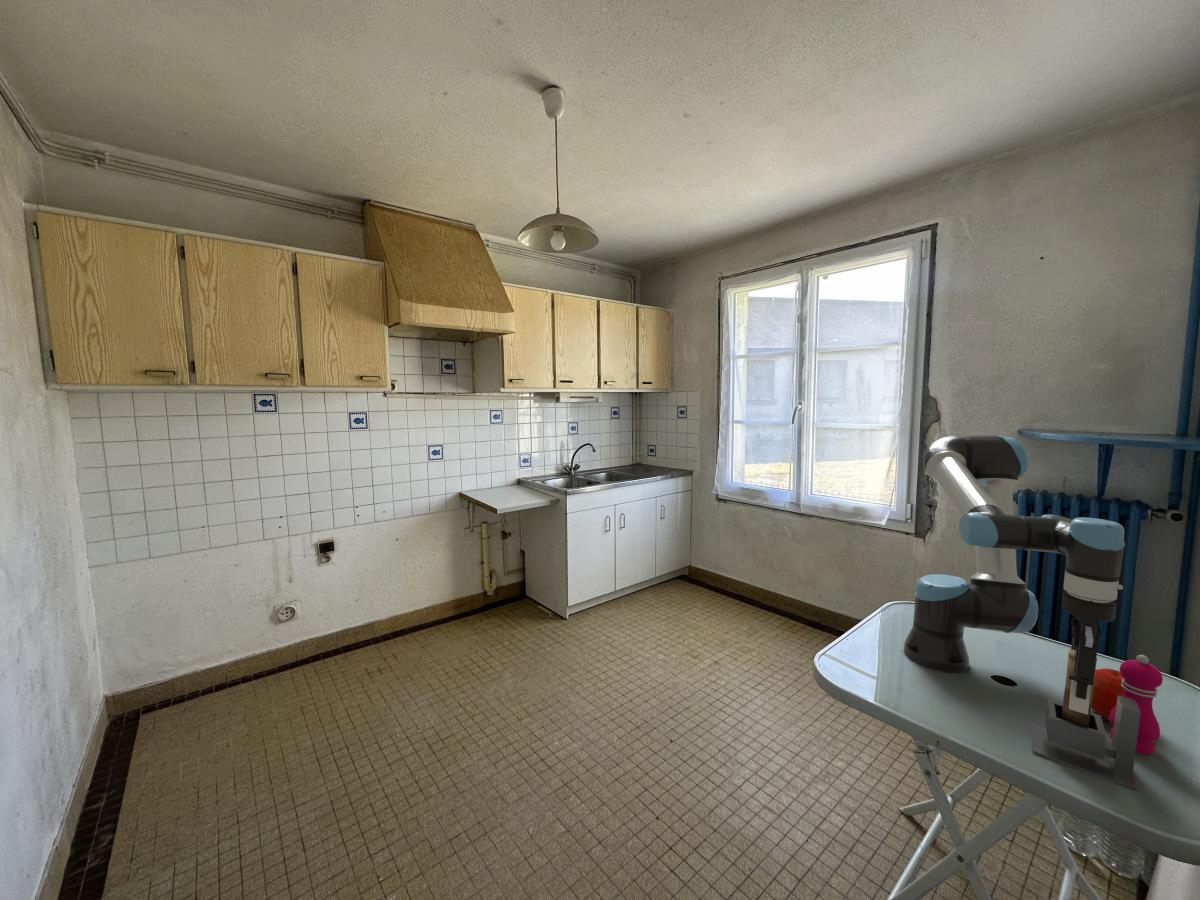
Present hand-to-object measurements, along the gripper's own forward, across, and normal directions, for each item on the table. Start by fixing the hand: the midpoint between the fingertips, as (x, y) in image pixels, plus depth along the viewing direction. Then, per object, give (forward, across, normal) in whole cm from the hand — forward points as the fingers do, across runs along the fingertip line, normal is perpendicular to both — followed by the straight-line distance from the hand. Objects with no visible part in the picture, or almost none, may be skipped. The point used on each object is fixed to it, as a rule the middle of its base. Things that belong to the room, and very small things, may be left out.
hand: (1077, 705), depth 98 cm
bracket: (+11, 0, -1) cm, 11 cm away
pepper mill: (+11, +12, -10) cm, 19 cm away
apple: (+11, +22, -8) cm, 26 cm away
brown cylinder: (+4, 0, 0) cm, 4 cm away
